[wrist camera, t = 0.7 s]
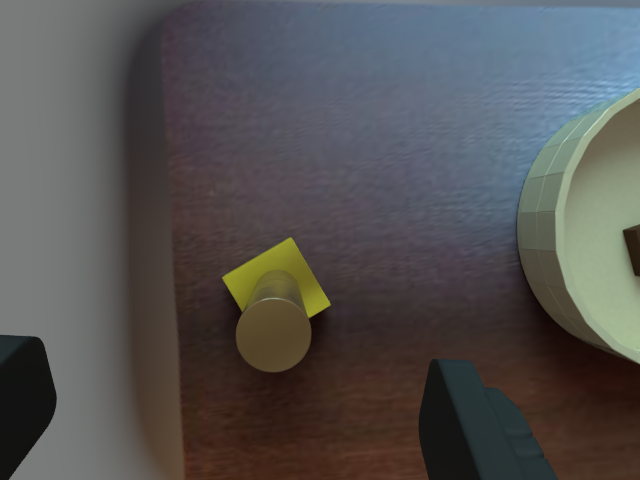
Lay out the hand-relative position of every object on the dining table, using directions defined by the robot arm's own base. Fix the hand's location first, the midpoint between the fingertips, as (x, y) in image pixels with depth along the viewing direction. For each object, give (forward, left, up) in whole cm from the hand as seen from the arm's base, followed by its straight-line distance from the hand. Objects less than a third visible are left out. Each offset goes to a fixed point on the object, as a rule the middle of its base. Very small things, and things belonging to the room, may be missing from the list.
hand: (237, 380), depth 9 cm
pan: (+5, +27, -21) cm, 35 cm away
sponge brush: (+1, 0, -21) cm, 21 cm away
